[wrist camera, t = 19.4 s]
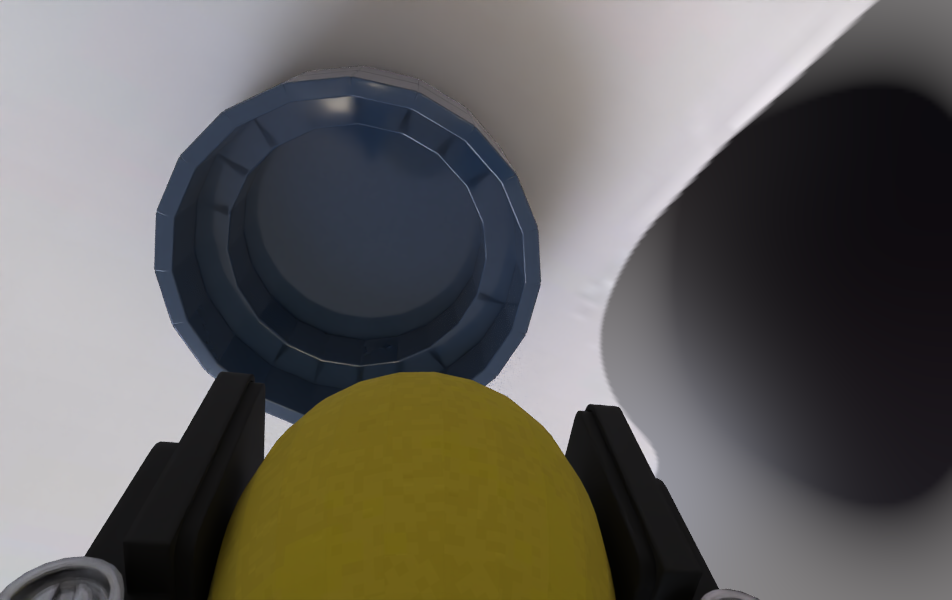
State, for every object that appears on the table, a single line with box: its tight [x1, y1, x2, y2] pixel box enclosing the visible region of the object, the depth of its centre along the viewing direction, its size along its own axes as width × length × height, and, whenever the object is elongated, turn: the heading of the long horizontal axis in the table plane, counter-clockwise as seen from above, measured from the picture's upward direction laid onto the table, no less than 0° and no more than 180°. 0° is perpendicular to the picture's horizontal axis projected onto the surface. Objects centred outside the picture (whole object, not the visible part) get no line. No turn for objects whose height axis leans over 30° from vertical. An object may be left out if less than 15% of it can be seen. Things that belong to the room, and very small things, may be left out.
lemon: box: [207, 372, 616, 600], centre depth 9 cm, size 6×6×8 cm
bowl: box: [154, 66, 541, 424], centre depth 24 cm, size 13×13×5 cm
